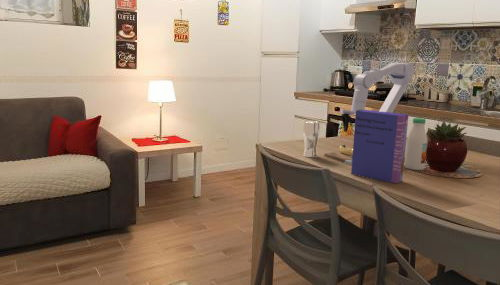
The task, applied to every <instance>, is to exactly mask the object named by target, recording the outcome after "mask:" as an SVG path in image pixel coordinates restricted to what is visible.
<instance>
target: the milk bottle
mask: <svg viewBox="0 0 500 285" xmlns="http://www.w3.org/2000/svg"><path fill="white" fill-rule="evenodd" d="M425 125H426V119H425V118H423V117H421V118H420V117H414V118H413V119H412V127H411V130H410V131H409V133H408V135H407V137H406V146H405V156H404V166H403V168H404V169H405V168H406V169H407V170H413V171H423V170H425V168H426V160H427V149H428V136H427V133H426V129H425Z"/></svg>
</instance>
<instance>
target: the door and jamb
mask: <svg viewBox="0 0 500 285" xmlns="http://www.w3.org/2000/svg"><path fill="white" fill-rule="evenodd" d="M323 154H324V155H323V156H324V157H326V156H327V157H326V158H329V159H332V160H335V161H338V162H340V161H341V163H343V162H345V164H346V163H347V165H349V164H350V166H352V156H351V155H347V154H344V153H341V152H339V151H334V152H333V151H332V152H325V153H323Z"/></svg>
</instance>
